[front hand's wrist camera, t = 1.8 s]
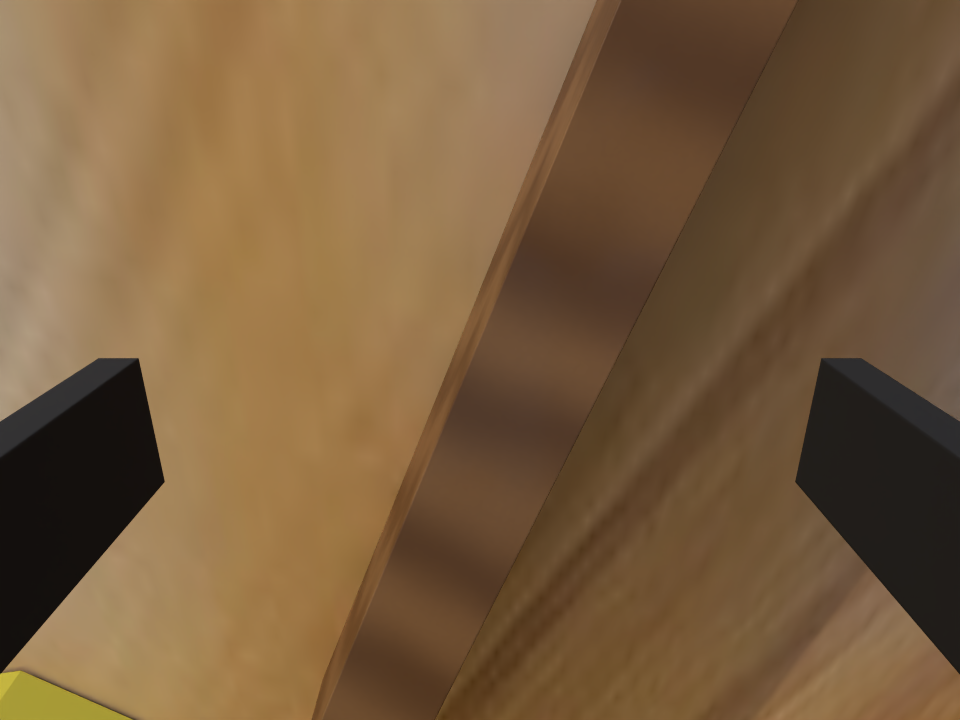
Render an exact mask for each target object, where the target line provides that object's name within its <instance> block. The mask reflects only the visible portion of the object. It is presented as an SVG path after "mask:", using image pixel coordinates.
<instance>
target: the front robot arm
mask: <svg viewBox="0 0 960 720" xmlns="http://www.w3.org/2000/svg"><path fill="white" fill-rule="evenodd" d="M164 482H165V481H164V476H163V471H162V467H161V462H160V457H159V453H158V448H157V443H156V438H155V434H154V429H153V424H152V420H151V415H150V410H149V405H148V401H147V396H146V391H145V386H144V382H143V377H142V372H141V368H140V363H139V358H98V359H97V360H95V361H94V362H92V363H91V364H89V365H88V366H86V367H85V368H83V369H81V370H80V371H78V372H77V373H75V374H74V375H72V376H71V377H69V378H67V379H66V380H64V381H63V382H61V383H60V384H58V385H57V386H55V387H53V388H52V389H50V390H49V391H47V392H46V393H44V394H43V395H41V396H39V397H38V398H36V399H35V400H33V401H32V402H30V403H29V404H27V405H25V406H24V407H22V408H21V409H19V410H18V411H16V412H15V413H13V414H11V415H10V416H8V417H7V418H5V419H4V420H2V421H1V422H0V674H1V673H2V672H3V670H4V669H5V668H6V667H7V666H8V665H9V663H10V662H11V661H12V660H13V659H14V658H15V656H16V655H17V654H18V653H19V652H20V651H21V649H22V648H23V647H24V646H25V645H26V643H27V642H28V641H29V640H30V639H31V638H32V636H33V635H34V634H35V633H36V632H37V631H38V629H39V628H40V627H41V626H42V625H43V624H44V622H45V621H46V620H47V619H48V618H49V617H50V615H51V614H52V613H53V612H54V611H55V610H56V608H57V607H58V606H59V605H60V604H61V603H62V601H63V600H64V599H65V598H66V597H67V596H68V594H69V593H70V592H71V591H72V590H73V589H74V587H75V586H76V585H77V584H78V583H79V581H80V580H81V579H82V578H83V577H84V576H85V574H86V573H87V572H88V571H89V570H90V569H91V567H92V566H93V565H94V564H95V563H96V562H97V560H98V559H99V558H100V557H101V556H102V555H103V553H104V552H105V551H106V550H107V549H108V548H109V546H110V545H111V544H112V543H113V542H114V541H115V539H116V538H117V537H118V536H119V535H120V534H121V532H122V531H123V530H124V529H125V528H126V527H127V525H128V524H129V523H130V522H131V521H132V519H133V518H134V517H135V516H136V515H137V514H138V512H139V511H140V510H141V509H142V508H143V507H144V505H145V504H146V503H147V502H148V501H149V500H150V498H151V497H152V496H153V495H154V494H155V493H156V491H157V490H158V489H159V488H160V487H161V486H162V484H163V483H164ZM795 482H796V483H797V484H798V486H799V487H800V488H801V489H802V490H803V491H804V493H805V494H806V495H807V496H808V497H809V498H810V500H811V501H812V502H813V503H814V504H815V505H816V507H817V508H818V509H819V510H820V511H821V512H822V514H823V515H824V516H825V517H826V518H827V520H828V521H829V522H830V523H831V524H832V525H833V527H834V528H835V529H836V530H837V531H838V532H839V534H840V535H841V536H842V537H843V538H844V539H845V541H846V542H847V543H848V544H849V545H850V546H851V548H852V549H853V550H854V551H855V552H856V553H857V555H858V556H859V557H860V558H861V559H862V560H863V562H864V563H865V564H866V565H867V566H868V567H869V569H870V570H871V571H872V572H873V573H874V574H875V576H876V577H877V578H878V579H879V580H880V581H881V583H882V584H883V585H884V586H885V587H886V589H887V590H888V591H889V592H890V593H891V594H892V596H893V597H894V598H895V599H896V600H897V601H898V603H899V604H900V605H901V606H902V607H903V608H904V610H905V611H906V612H907V613H908V614H909V615H910V617H911V618H912V619H913V620H914V621H915V622H916V624H917V625H918V626H919V627H920V628H921V629H922V631H923V632H924V633H925V634H926V635H927V636H928V638H929V639H930V640H931V641H932V642H933V643H934V645H935V646H936V647H937V648H938V649H939V651H940V652H941V653H942V654H943V655H944V656H945V658H946V659H947V660H948V661H949V662H950V663H951V665H952V666H953V667H954V668H955V669H956V670H957V672H958V673H959V674H960V422H959V421H958V420H956V419H955V418H953V417H952V416H950V415H949V414H947V413H945V412H944V411H942V410H941V409H939V408H938V407H936V406H935V405H933V404H931V403H930V402H928V401H927V400H925V399H924V398H922V397H921V396H919V395H917V394H916V393H914V392H913V391H911V390H910V389H908V388H907V387H905V386H903V385H902V384H900V383H899V382H897V381H896V380H894V379H893V378H891V377H889V376H888V375H886V374H885V373H883V372H882V371H880V370H879V369H877V368H875V367H874V366H872V365H871V364H869V363H868V362H866V361H865V360H863V359H862V358H821V363H820V368H819V372H818V377H817V382H816V386H815V391H814V396H813V401H812V405H811V410H810V415H809V420H808V424H807V429H806V434H805V438H804V443H803V448H802V453H801V457H800V462H799V467H798V471H797V476H796V481H795Z"/></svg>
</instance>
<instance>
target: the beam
mask: <svg viewBox="0 0 960 720" xmlns="http://www.w3.org/2000/svg"><path fill="white" fill-rule="evenodd" d="M797 2H798V0H597V2H596V4H595V7H594V9H593V12H592V14H591V17H590V19H589V22H588V24H587V27H586V29H585V31H584V34H583V36H582V39H581V41H580V44H579V46H578V49H577V51H576V54H575V56H574V59H573V61H572V64H571V66H570V69H569V71H568V74H567V76H566V79H565V81H564V83H563V86H562V88H561V91H560V93H559V96H558V98H557V101H556V103H555V106H554V108H553V111H552V113H551V116H550V118H549V121H548V123H547V126H546V128H545V131H544V133H543V136H542V138H541V140H540V143H539V145H538V148H537V150H536V153H535V155H534V158H533V160H532V163H531V165H530V168H529V170H528V173H527V175H526V178H525V180H524V183H523V185H522V188H521V190H520V192H519V195H518V197H517V200H516V202H515V205H514V207H513V210H512V212H511V215H510V217H509V220H508V222H507V225H506V227H505V230H504V232H503V235H502V237H501V240H500V242H499V245H498V247H497V249H496V252H495V254H494V257H493V259H492V262H491V264H490V267H489V269H488V272H487V274H486V277H485V279H484V282H483V284H482V287H481V289H480V292H479V294H478V297H477V299H476V301H475V304H474V306H473V309H472V311H471V314H470V316H469V319H468V321H467V324H466V326H465V329H464V331H463V334H462V336H461V339H460V341H459V344H458V346H457V349H456V351H455V354H454V356H453V358H452V361H451V363H450V366H449V368H448V371H447V373H446V376H445V378H444V381H443V383H442V386H441V388H440V391H439V393H438V396H437V398H436V401H435V403H434V406H433V408H432V410H431V413H430V415H429V418H428V420H427V423H426V425H425V428H424V430H423V433H422V435H421V438H420V440H419V443H418V445H417V448H416V450H415V453H414V455H413V458H412V460H411V463H410V465H409V467H408V470H407V472H406V475H405V477H404V480H403V482H402V485H401V487H400V490H399V492H398V495H397V497H396V500H395V502H394V505H393V507H392V510H391V512H390V515H389V517H388V519H387V522H386V524H385V527H384V529H383V532H382V534H381V537H380V539H379V542H378V544H377V547H376V549H375V552H374V554H373V557H372V559H371V562H370V564H369V567H368V569H367V572H366V574H365V576H364V579H363V581H362V584H361V586H360V589H359V591H358V594H357V596H356V599H355V601H354V604H353V606H352V609H351V611H350V614H349V616H348V619H347V621H346V624H345V626H344V629H343V631H342V633H341V636H340V638H339V641H338V643H337V646H336V648H335V651H334V653H333V656H332V658H331V661H330V663H329V666H328V668H327V671H326V673H325V676H324V678H323V681H322V684H321V688H320V691H319V695H318V699H317V702H316V706H315V709H314V713H313V717H312V720H435V718H436V716H437V714H438V712H439V710H440V708H441V706H442V704H443V702H444V700H445V698H446V696H447V694H448V692H449V690H450V689H451V687H452V685H453V683H454V681H455V679H456V677H457V675H458V673H459V671H460V669H461V667H462V665H463V663H464V661H465V659H466V657H467V655H468V653H469V651H470V649H471V647H472V645H473V643H474V641H475V639H476V637H477V635H478V633H479V631H480V629H481V627H482V625H483V623H484V621H485V619H486V617H487V615H488V613H489V611H490V609H491V607H492V605H493V604H494V602H495V600H496V598H497V596H498V594H499V592H500V590H501V588H502V586H503V584H504V582H505V580H506V578H507V576H508V574H509V572H510V570H511V568H512V566H513V564H514V562H515V560H516V558H517V556H518V554H519V552H520V550H521V548H522V546H523V544H524V542H525V540H526V538H527V536H528V534H529V532H530V530H531V528H532V526H533V524H534V522H535V520H536V518H537V517H538V515H539V513H540V511H541V509H542V507H543V505H544V503H545V501H546V499H547V497H548V495H549V493H550V491H551V489H552V487H553V485H554V483H555V481H556V479H557V477H558V475H559V473H560V471H561V469H562V467H563V465H564V463H565V461H566V459H567V457H568V455H569V453H570V451H571V449H572V447H573V445H574V443H575V441H576V439H577V437H578V435H579V433H580V431H581V430H582V428H583V426H584V424H585V422H586V420H587V418H588V416H589V414H590V412H591V410H592V408H593V406H594V404H595V402H596V400H597V398H598V396H599V394H600V392H601V390H602V388H603V386H604V384H605V382H606V380H607V378H608V376H609V374H610V372H611V370H612V368H613V366H614V364H615V362H616V360H617V358H618V356H619V354H620V352H621V350H622V348H623V346H624V345H625V343H626V341H627V339H628V337H629V335H630V333H631V331H632V329H633V327H634V325H635V323H636V321H637V319H638V317H639V315H640V313H641V311H642V309H643V307H644V305H645V303H646V301H647V299H648V297H649V295H650V293H651V291H652V289H653V287H654V285H655V283H656V281H657V279H658V277H659V275H660V273H661V271H662V269H663V267H664V265H665V263H666V261H667V259H668V258H669V256H670V254H671V252H672V250H673V248H674V246H675V244H676V242H677V240H678V238H679V236H680V234H681V232H682V230H683V228H684V226H685V224H686V222H687V220H688V218H689V216H690V214H691V212H692V210H693V208H694V206H695V204H696V202H697V200H698V198H699V196H700V194H701V192H702V190H703V188H704V186H705V184H706V182H707V180H708V178H709V176H710V174H711V172H712V171H713V169H714V167H715V165H716V163H717V161H718V159H719V157H720V155H721V153H722V151H723V149H724V147H725V145H726V143H727V141H728V139H729V137H730V135H731V133H732V131H733V129H734V127H735V125H736V123H737V121H738V119H739V117H740V115H741V113H742V111H743V109H744V107H745V105H746V103H747V101H748V99H749V97H750V95H751V93H752V91H753V89H754V87H755V86H756V84H757V82H758V80H759V78H760V76H761V74H762V72H763V70H764V68H765V66H766V64H767V62H768V60H769V58H770V56H771V54H772V52H773V50H774V48H775V46H776V44H777V42H778V40H779V38H780V36H781V34H782V32H783V30H784V28H785V26H786V24H787V22H788V20H789V18H790V16H791V14H792V12H793V10H794V8H795V6H796V4H797Z"/></svg>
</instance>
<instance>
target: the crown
mask: <svg viewBox="0 0 960 720" xmlns="http://www.w3.org/2000/svg"><path fill="white" fill-rule="evenodd" d="M0 720H133V719H130V718H128V717H126V716H123V715H121V714H119V713H117V712H114V711H112V710H110V709H107V708H105V707H103V706H101V705H98V704H96V703H94V702H91V701H89V700H87V699H85V698H82V697H80V696H78V695H75V694H73V693H71V692H69V691H66V690H64V689H62V688H59V687H57V686H55V685H52V684H50V683H48V682H46V681H43V680H41V679H39V678H36V677H34V676H32V675H30V674H27V673H25V672H23V671H15V672H8V673H1V674H0Z"/></svg>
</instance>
